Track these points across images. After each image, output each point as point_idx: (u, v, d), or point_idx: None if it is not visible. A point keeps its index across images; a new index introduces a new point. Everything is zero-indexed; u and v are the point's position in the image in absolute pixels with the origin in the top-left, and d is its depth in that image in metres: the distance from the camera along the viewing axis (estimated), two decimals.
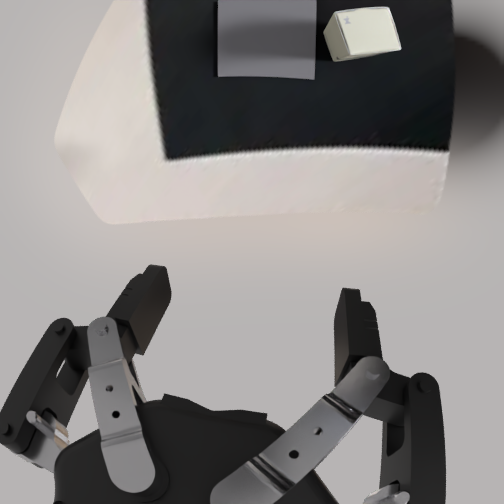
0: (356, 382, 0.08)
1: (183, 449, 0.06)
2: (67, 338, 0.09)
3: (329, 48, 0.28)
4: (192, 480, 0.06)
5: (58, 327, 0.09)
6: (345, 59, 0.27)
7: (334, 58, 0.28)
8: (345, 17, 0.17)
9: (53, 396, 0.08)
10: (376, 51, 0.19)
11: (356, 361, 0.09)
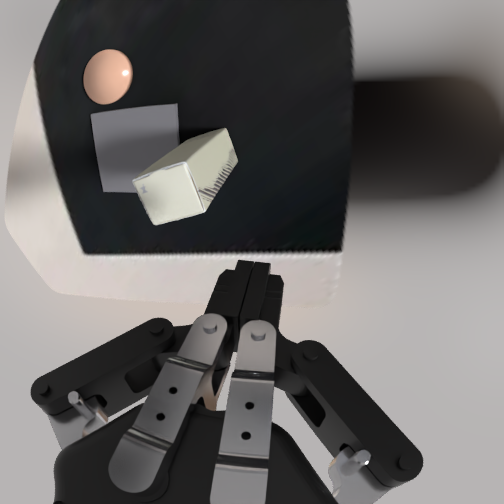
0: (250, 349, 0.09)
1: (183, 449, 0.06)
2: (169, 340, 0.09)
3: None
4: (192, 480, 0.06)
5: (155, 328, 0.10)
6: None
7: None
8: (141, 185, 0.21)
9: (112, 388, 0.09)
10: (178, 218, 0.23)
11: None
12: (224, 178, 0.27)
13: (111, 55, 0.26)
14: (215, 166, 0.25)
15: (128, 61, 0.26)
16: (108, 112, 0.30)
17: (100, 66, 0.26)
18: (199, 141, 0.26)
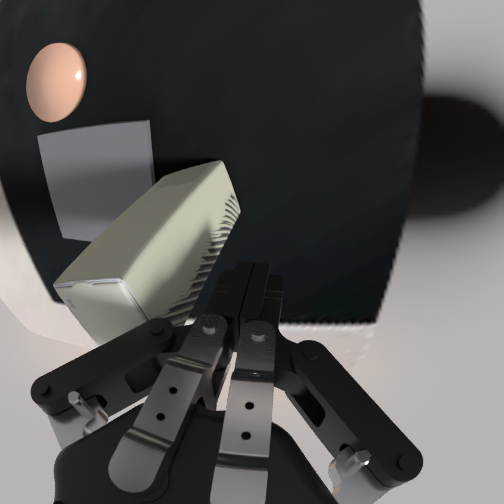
0: (250, 349, 0.09)
1: (183, 449, 0.06)
2: (170, 340, 0.09)
3: None
4: (192, 480, 0.06)
5: (155, 328, 0.10)
6: None
7: None
8: (66, 297, 0.11)
9: (112, 388, 0.09)
10: None
11: None
12: (213, 259, 0.17)
13: (58, 51, 0.15)
14: (195, 247, 0.15)
15: (80, 58, 0.16)
16: (57, 133, 0.20)
17: (45, 68, 0.16)
18: (171, 196, 0.16)
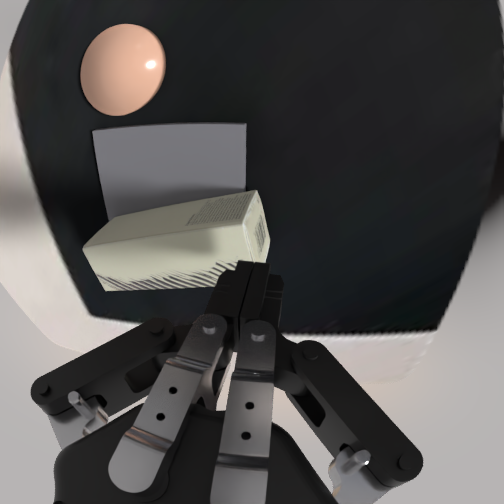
0: (250, 349, 0.09)
1: (183, 449, 0.06)
2: (169, 340, 0.09)
3: None
4: (192, 480, 0.06)
5: (155, 328, 0.10)
6: None
7: None
8: None
9: (112, 388, 0.09)
10: None
11: None
12: (169, 285, 0.20)
13: (129, 33, 0.14)
14: (145, 268, 0.19)
15: (159, 44, 0.15)
16: (122, 129, 0.19)
17: (109, 52, 0.15)
18: (163, 224, 0.18)
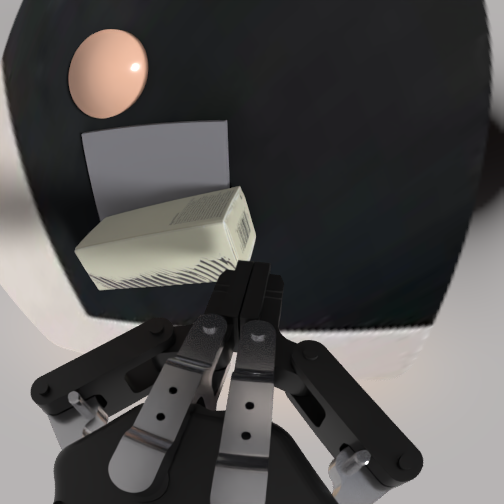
0: (250, 349, 0.09)
1: (183, 449, 0.06)
2: (169, 340, 0.09)
3: None
4: (192, 480, 0.06)
5: (155, 329, 0.10)
6: None
7: None
8: None
9: (112, 388, 0.09)
10: None
11: None
12: (158, 283, 0.20)
13: (112, 38, 0.15)
14: (134, 267, 0.19)
15: (141, 47, 0.15)
16: (109, 131, 0.19)
17: (94, 57, 0.16)
18: (149, 224, 0.19)
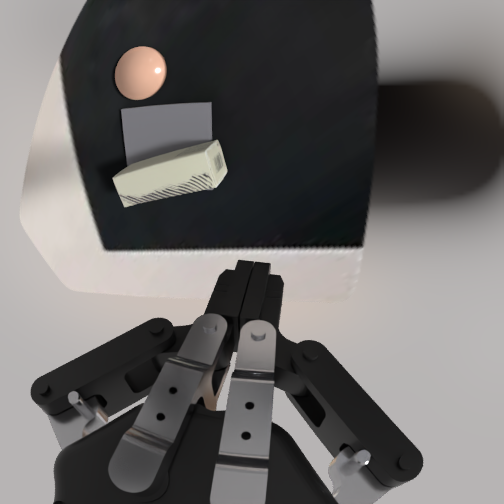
0: (250, 349, 0.09)
1: (183, 449, 0.06)
2: (169, 340, 0.09)
3: None
4: (192, 480, 0.06)
5: (155, 328, 0.10)
6: None
7: None
8: None
9: (112, 388, 0.09)
10: None
11: None
12: (165, 195, 0.32)
13: (145, 52, 0.27)
14: (151, 185, 0.32)
15: (162, 59, 0.28)
16: (140, 108, 0.32)
17: (133, 62, 0.28)
18: (163, 158, 0.31)
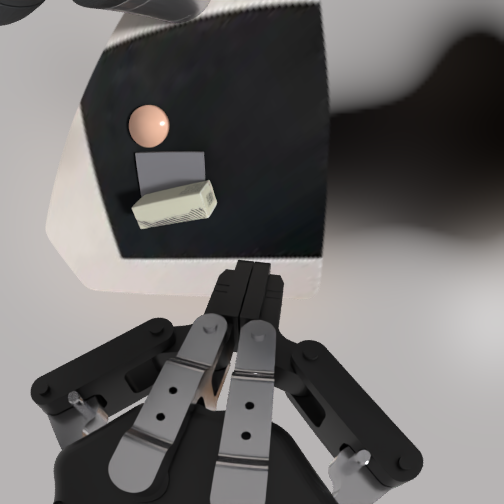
0: (250, 349, 0.09)
1: (183, 449, 0.06)
2: (169, 340, 0.09)
3: None
4: (192, 480, 0.06)
5: (155, 328, 0.10)
6: None
7: None
8: None
9: (112, 388, 0.09)
10: None
11: None
12: (172, 222, 0.45)
13: (152, 110, 0.40)
14: (161, 214, 0.45)
15: (166, 116, 0.41)
16: (150, 153, 0.45)
17: (143, 117, 0.41)
18: (169, 195, 0.44)
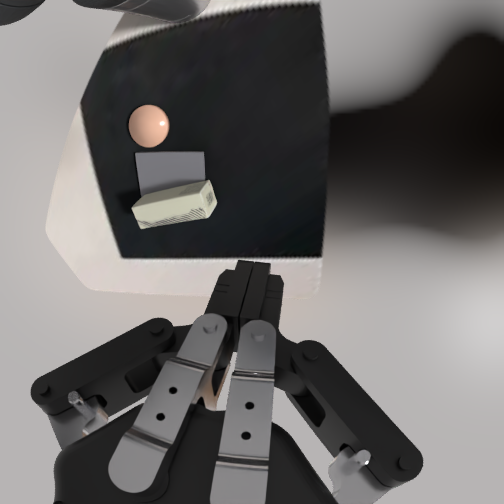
0: (250, 349, 0.09)
1: (183, 449, 0.06)
2: (169, 340, 0.09)
3: None
4: (192, 480, 0.06)
5: (156, 328, 0.10)
6: None
7: None
8: None
9: (112, 388, 0.09)
10: None
11: None
12: (172, 222, 0.45)
13: (152, 110, 0.40)
14: (161, 214, 0.45)
15: (166, 116, 0.41)
16: (150, 153, 0.45)
17: (143, 117, 0.41)
18: (169, 195, 0.44)
